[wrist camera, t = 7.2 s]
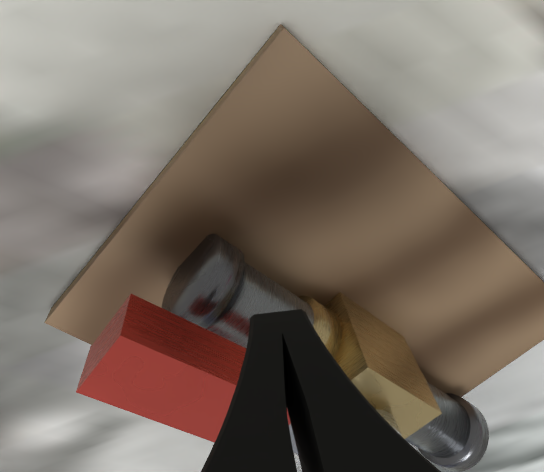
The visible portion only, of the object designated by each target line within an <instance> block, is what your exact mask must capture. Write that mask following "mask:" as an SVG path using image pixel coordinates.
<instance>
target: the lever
mask: <svg viewBox="0 0 544 472" xmlns="http://www.w3.org/2000/svg"><path fill="white" fill-rule="evenodd" d="M245 352H246V348H245V347H243V346H240V345H238V344H236V343H234V342H232V341H230V340H228V339H226V338H224V337H221V336H219V335H217V334H215V333H213V332H211V331H209V330H207V329H205V328H203V327H200V326H198V325H196V324H194V323H192V322H190V321H188V320H186V319H184V318H182V317H179V316H177V315H175V314H173V313H171V312H169V311H167V310H165V309H163V308H161V307H158V306H156V305H154V304H152V303H150V302H148V301H146V300H144V299H142V298H139V297H137V296H135V295H133V294H130V295H129V297H128V298H127V299H126V301H125V302H124V303H123V305H122V306H121V307H120V309H119V310H118V311H117V313H116V314H115V315H114V317H113V318H112V319H111V321H110V322H109V323H108V325H107V326H106V327H105V329H104V330H103V331H102V333H101V334H100V335H99V336H98V338H97V339H96V340H95V342H94V343H93V344H92V346H91V347H90V351H89V354H88V357H87V360H86V363H85V366H84V369H83V372H82V375H81V378H80V381H79V384H78V388H77V391H76V392H77V393H80V394H82V395H85V396H88V397H91V398H93V399H96V400H99V401H102V402H104V403H107V404H110V405H113V406H115V407H118V408H121V409H124V410H127V411H129V412H132V413H135V414H138V415H140V416H143V417H146V418H149V419H151V420H154V421H157V422H160V423H162V424H165V425H168V426H171V427H173V428H176V429H179V430H182V431H184V432H187V433H190V434H193V435H196V436H198V437H201V438H204V439H207V440H209V441H212V442H215V441H216V439H217V436H218V434H219V432H220V429H221V427H222V424H223V422H224V419H225V417H226V414H227V412H228V409H229V406H230V403H231V400H232V397H233V394H234V391H235V389H236V386H237V382H238V379H239V375H240V372H241V368H242V364H243V361H244V357H245ZM376 411H377V412H378V413H379V414H380V415H381V416H382V417H383V418H384V419H385V420H386V421H387V422H388V423H389V424H390V425H391V426H392V427H393V428H394V429H395V430H396V431H397V432H398V433H399V434H400V435H401V432H400V430H399V427H398V425H397V422H396V420H395V418H394V416H393V415H391V414H390V413H388V412H386V411H383V410H378V409H376ZM287 418H288V424H289V430H290V436H291V442H292V447H293V453H296V454H298V451H297V447H296V443H295V439H294V435H293V430H292V426H291V422H290V418H289V414H288V410H287ZM401 436H402V435H401Z"/></svg>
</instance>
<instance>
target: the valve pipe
mask: <svg viewBox="0 0 544 472" xmlns="http://www.w3.org/2000/svg"><path fill="white" fill-rule="evenodd" d="M162 308H163V309H165V310H167V311H169V312H171V313H173V314H175V315H177V316H179V317H182V318H184V319H186V320H188V321H190V322H192V323H194V324H196V325H198V326H200V327H203V328H205V329H207V330H209V331H211V332H213V333H215V334H217V335H219V336H221V337H224V338H226V339H228V340H230V341H232V342H234V343H236V344H238V345H240V346H243V347H245V348H247V343H248V336H249V327H250V318H251V317H252V316H253V315H254V314H262V313H271V312H280V311H289V310H297V309H302V310H303V311H305V312H306V314H307V316H308V318H309V320H310V322H311V324H312V325H313V327H314V329H315V331H316V332H317V334H318V335H319V337H320V339H321V340H322V342H323V343H324V345H325V346H326V348H327V349H328V351H329V352H330V353H331V355H332V356H333V358H334V359H335V360H336V362H337V363H338V364H339V366H340V367H341V368H342V370H343V371H344V373H345V374H346V375H347V376H348V378H349V379H350V380H351V381H352V383H353V384H354V385H355V386H356V388H357V389H358V390H359V391H360V392H361V393H362V395H363V396H364V397H365V398H366V399H367V401H368V402H369V403H370V404H371V405H372V406H373V407H374V408H375V409H378V410H383V411H386V412H388V413H390V414H391V415H393V416H394V418H395V420H396V422H397V425H398V427H399V430H400V432H401V435H402V437H403V438H404V439H405V440H406V441H407V442H409V443H411V444H412V445H414V446H416V447H418V449H419V450H420V452H421V453H422V454H423V456H424V457H426V458H427V459H428V460H430V461H431V462H433V463H435V464H437V465H439V466H441V467H443V468H445V469H447V470H450V471H464V470H467V469H469V468H471V467H473V466H474V465H476V464H477V463H478V462H479V461H480V459H481V458H482V457H483V455H484V453H485V451H486V449H487V445H488V439H489V433H488V426H487V423H486V420H485V418H484V416H483V415H482V413H481V412H480V411H479V410H478V409H477V408H476V407H475V406H473V405H472V404H470V403H469V402H467V401H466V400H464V399H463V398H461V397H460V396H458V395H455V394H452V393H444V392H442V391H441V390H439V389H438V388H436V387H435V386H433V385H432V384H430V383H429V382H427V381H426V379H425V377H424V375H423V374H422V372H421V370H420V368H419V366H418V364H417V362H416V360H415V358H414V356H413V354H412V352H411V350H410V348H409V346H408V344H407V342H406V340H405V338H404V336H402V335H401V334H399V333H398V332H397V331H395V330H394V329H392V328H391V327H389V326H388V325H387V324H385V323H384V322H382V321H381V320H379V319H378V318H377V317H375V316H374V315H372V314H371V313H369V312H368V311H367V310H365V309H364V308H362V307H361V306H359V305H358V304H357V303H355V302H354V301H352V300H351V299H349V298H348V297H347V296H345V295H344V294H342V293H341V292H339V293H338V294H337V295H336V296H335V297H334V298H333V299H331V300H330V301H329V302H328V303H327V304H326V305H325V306H323V305H322V304H320V303H319V302H317V301H316V300H314V299H313V298H311V297H309V296H305V295H303V296H298V297H297V296H296V295H294V294H293V293H291V292H290V291H288V290H287V289H285V288H284V287H282V286H281V285H279V284H278V283H276V282H275V281H273V280H272V279H270V278H268V277H267V276H265V275H264V274H262V273H261V272H259V271H258V270H256V269H255V268H253V267H252V266H250V265H249V264H247V263H246V262H245V261H244V254H243V252H242V251H241V250H239V249H238V248H236V247H235V246H233V245H232V244H230V243H229V242H227V241H226V240H224V239H223V238H221V237H220V236H218V235H217V234H210V235H208V236H206V237H205V239H204V240H203V241H202V242H201V243H200V244H199V245H198V246H197V247H196V248H195V250H194V251H193V252H192V253H191V254H190V255H189V256H188V257H187V258H186V259H185V260H184V262H183V263H182V264H181V265H180V266H179V267H178V268H177V270H176V271H175V273H174V275H173V277H172V279H171V281H170V283H169V285H168V287H167V289H166V292H165V295H164V298H163V302H162Z"/></svg>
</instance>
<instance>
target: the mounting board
mask: <svg viewBox="0 0 544 472" xmlns="http://www.w3.org/2000/svg"><path fill="white" fill-rule="evenodd" d="M210 234H217V235H218V236H220V237H221V238H223V239H224V240H226V241H227V242H229V243H230V244H232V245H233V246H235V247H236V248H238V249H239V250H241V251H242V252H243V254H244V261H245V262H246V263H247V264H249V265H250V266H252V267H253V268H255V269H256V270H258V271H259V272H261V273H262V274H264V275H265V276H267V277H268V278H270V279H272V280H273V281H275V282H276V283H278V284H279V285H281V286H282V287H284V288H285V289H287V290H288V291H290V292H291V293H293V294H294V295H296V296H297V297H298V296H303V295H305V296H309V297H311V298H313V299H314V300H316V301H317V302H319V303H320V304H322V305H323V306H325V305H326V304H327V303H328V302H329V301H330V300H331V299H333V298H334V297H335V296H336V295H337V294H338V293H339V292H341V293H342V294H344V295H345V296H347V297H348V298H349V299H351V300H352V301H354V302H355V303H357V304H358V305H359V306H361V307H362V308H364V309H365V310H367V311H368V312H369V313H371V314H372V315H374V316H375V317H377V318H378V319H379V320H381V321H382V322H384V323H385V324H387V325H388V326H389V327H391V328H392V329H394V330H395V331H397V332H398V333H399V334H401V335H402V336H404V338H405V340H406V342H407V344H408V346H409V348H410V350H411V352H412V354H413V356H414V358H415V360H416V362H417V364H418V366H419V368H420V370H421V372H422V374H423V375H424V377H425V379H426V381H427V382H429V383H430V384H432V385H433V386H435V387H436V388H438V389H439V390H441V391H442V392H444V393H452V394H455V395H458V396H460V397H462V396H463V395H465V394H466V393H468V392H469V391H471V390H472V389H473V388H475V387H476V386H478V385H479V384H481V383H482V382H483V381H485V380H486V379H488V378H489V377H491V376H492V375H494V374H495V373H496V372H498V371H499V370H501V369H502V368H504V367H505V366H506V365H508V364H509V363H511V362H512V361H514V360H515V359H517V358H518V357H519V356H521V355H522V354H524V353H525V352H527V351H528V350H530V349H531V348H532V347H534V346H535V345H537V344H538V343H540V342H541V341H542V340H544V282H543V281H542V280H541V279H540V278H539V277H538V276H537V275H536V274H535V273H534V272H533V271H532V270H531V269H530V268H529V267H528V266H527V265H526V264H525V263H524V262H523V261H522V260H521V259H520V258H519V257H518V256H517V255H516V254H515V253H514V252H512V251H511V250H510V249H509V248H508V247H507V246H506V245H505V244H504V243H503V242H502V241H501V240H500V239H499V238H498V237H497V236H496V235H495V234H494V233H493V232H492V231H491V230H490V229H489V228H488V227H487V226H486V225H485V224H484V223H483V222H482V221H481V220H480V219H479V218H478V217H477V216H476V215H475V214H474V213H473V212H472V211H471V210H470V209H469V208H468V207H467V206H466V205H465V204H464V203H463V202H462V201H461V200H460V199H459V198H458V197H456V196H455V195H454V194H453V193H452V192H451V191H450V190H449V189H448V188H447V187H446V186H445V185H444V184H443V183H442V182H441V181H440V180H439V179H438V178H437V177H436V176H435V175H434V174H433V173H432V172H431V171H430V170H429V169H428V168H427V167H426V166H425V165H424V164H423V163H422V162H421V161H420V160H419V159H418V158H417V157H416V156H415V155H414V154H413V153H412V152H411V151H410V150H409V149H408V148H407V147H406V146H405V145H404V144H403V143H402V142H400V141H399V140H398V139H397V138H396V137H395V136H394V135H393V134H392V133H391V132H390V131H389V130H388V129H387V128H386V127H385V126H384V125H383V124H382V123H381V122H380V121H379V120H378V119H377V118H376V117H375V116H374V115H373V114H372V113H371V112H370V111H369V110H368V109H367V108H366V107H365V106H364V105H363V104H362V103H361V102H360V101H359V100H358V99H357V98H356V97H355V96H354V95H353V94H352V93H351V92H350V91H349V90H348V89H347V88H346V87H344V86H343V85H342V84H341V83H340V82H339V81H338V80H337V79H336V78H335V77H334V76H333V75H332V74H331V73H330V72H329V71H328V70H327V69H326V68H325V67H324V66H323V65H322V64H321V63H320V62H319V61H318V60H317V59H316V58H315V57H314V56H313V55H312V54H311V53H310V52H309V51H308V50H307V49H306V48H305V47H304V46H303V45H302V44H301V43H300V42H299V41H298V40H297V39H296V38H295V37H294V36H293V35H292V34H291V33H290V32H288V31H287V30H286V29H285V28H284V27H283V26H282V25H281V24H280V26H279V27H278V28H277V29H276V31H275V32H274V33H273V34H272V36H271V37H270V38H269V39H268V40H267V42H266V43H265V44H264V45H263V47H262V48H261V49H260V50H259V52H258V53H257V54H256V55H255V57H254V58H253V59H252V60H251V62H250V63H249V64H248V65H247V66H246V68H245V69H244V70H243V71H242V73H241V74H240V75H239V76H238V78H237V79H236V80H235V81H234V83H233V84H232V85H231V86H230V88H229V89H228V90H227V91H226V93H225V94H224V95H223V96H222V97H221V99H220V100H219V101H218V102H217V104H216V105H215V106H214V107H213V109H212V110H211V111H210V112H209V114H208V115H207V116H206V117H205V119H204V120H203V121H202V122H201V123H200V125H199V126H198V127H197V128H196V130H195V131H194V132H193V133H192V135H191V136H190V137H189V138H188V140H187V141H186V142H185V143H184V145H183V146H182V147H181V148H180V150H179V151H178V152H177V153H176V154H175V156H174V157H173V158H172V159H171V161H170V162H169V163H168V164H167V166H166V167H165V168H164V169H163V171H162V172H161V173H160V174H159V176H158V177H157V178H156V179H155V180H154V182H153V183H152V184H151V185H150V187H149V188H148V189H147V190H146V192H145V193H144V194H143V195H142V197H141V198H140V199H139V200H138V202H137V203H136V204H135V205H134V206H133V208H132V209H131V210H130V211H129V213H128V214H127V215H126V216H125V218H124V219H123V220H122V221H121V223H120V224H119V225H118V226H117V228H116V229H115V230H114V231H113V233H112V234H111V235H110V236H109V237H108V239H107V240H106V241H105V242H104V244H103V245H102V246H101V247H100V249H99V250H98V251H97V252H96V254H95V255H94V256H93V257H92V259H91V260H90V261H89V262H88V263H87V265H86V266H85V267H84V268H83V270H82V271H81V272H80V273H79V275H78V276H77V277H76V278H75V280H74V281H73V282H72V283H71V285H70V286H69V287H68V288H67V290H66V291H65V292H64V293H63V294H62V296H61V297H60V298H59V299H58V301H57V302H56V303H55V304H54V306H53V307H52V308H51V310H50V312H49V314H48V317H47V319H46V321H45V323H46V324H49V325H51V326H53V327H55V328H57V329H59V330H61V331H63V332H65V333H68V334H70V335H72V336H74V337H76V338H78V339H80V340H82V341H85V342H87V343H89V344H91V345H92V344H93V343H94V342H95V340H96V339H97V338H98V336H99V335H100V334H101V333H102V331H103V330H104V329H105V327H106V326H107V325H108V323H109V322H110V321H111V319H112V318H113V317H114V315H115V314H116V313H117V311H118V310H119V309H120V307H121V306H122V305H123V303H124V302H125V301H126V299H127V298H128V297H129V295H130V294H133V295H135V296H137V297H139V298H142V299H144V300H146V301H148V302H150V303H152V304H154V305H156V306H158V307H161V308H162V302H163V298H164V295H165V292H166V289H167V287H168V285H169V283H170V281H171V279H172V277H173V275H174V273H175V271H176V270H177V268H178V267H179V266H180V265H181V264H182V263H183V262H184V260H185V259H186V258H187V257H188V256H189V255H190V254H191V253H192V252H193V251H194V250H195V248H196V247H197V246H198V245H199V244H200V243H201V242H202V241H203V240H204V239H205V237H206V236H208V235H210Z"/></svg>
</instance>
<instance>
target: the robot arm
mask: <svg viewBox="0 0 544 472" xmlns="http://www.w3.org/2000/svg"><path fill="white" fill-rule="evenodd" d="M287 410H288V414H289V418H290V422H291V426H292V430H293V435H294V439H295V443H296V447H297V451H298V455H299V459H300V463H301V467H302V471H303V472H441V471H439V470H438V469H437V468H436V467H435V466H434V465H432V464H431V463H430V462H429V461H428V460H427V459H426V458H424V457H423V456H422V455H421V454H420V453H419V452H418V451H416V450H415V449H414V448H413V447H412V446H411V445H410V444H409V443H408V442H407V441H406V440H405V439H404V438H403V437H402V436H401V435H400V434H399V433H398V432H397V431H396V430H395V429H394V428H393V427H392V426H391V425H390V424H389V423H388V422H387V421H386V420H385V419H384V418H383V417H382V416H381V415H380V414H379V413H378V412H377V411H376V409H375V408H374V407H373V406H372V405H371V404H370V403H369V402H368V401H367V399H366V398H365V397H364V396H363V395H362V393H361V392H360V391H359V390H358V389H357V388H356V386H355V385H354V384H353V383H352V381H351V380H350V379H349V378H348V376H347V375H346V374H345V373H344V371H343V370H342V368H341V367H340V366H339V364H338V363H337V362H336V360H335V359H334V358H333V356H332V355H331V353H330V352H329V351H328V349H327V348H326V346H325V345H324V343H323V342H322V340H321V339H320V337H319V335H318V334H317V332H316V331H315V329H314V327H313V325H312V324H311V322H310V320H309V318H308V316H307V314H306V312H305V311H303V310H302V309H297V310H289V311H280V312H271V313H262V314H254V315H253V316H252V317H251V318H250V327H249V336H248V343H247V348H246V352H245V357H244V361H243V364H242V368H241V372H240V375H239V379H238V382H237V386H236V389H235V391H234V394H233V397H232V400H231V403H230V406H229V409H228V412H227V414H226V417H225V419H224V422H223V424H222V427H221V429H220V432H219V434H218V436H217V439H216V441H215V443H214V445H213V448H212V450H211V452H210V454H209V456H208V458H207V461H206V463H205V465H204V467H203V469H202V471H201V472H297V470H296V464H295V459H294V453H293V447H292V442H291V436H290V430H289V424H288V418H287Z"/></svg>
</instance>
